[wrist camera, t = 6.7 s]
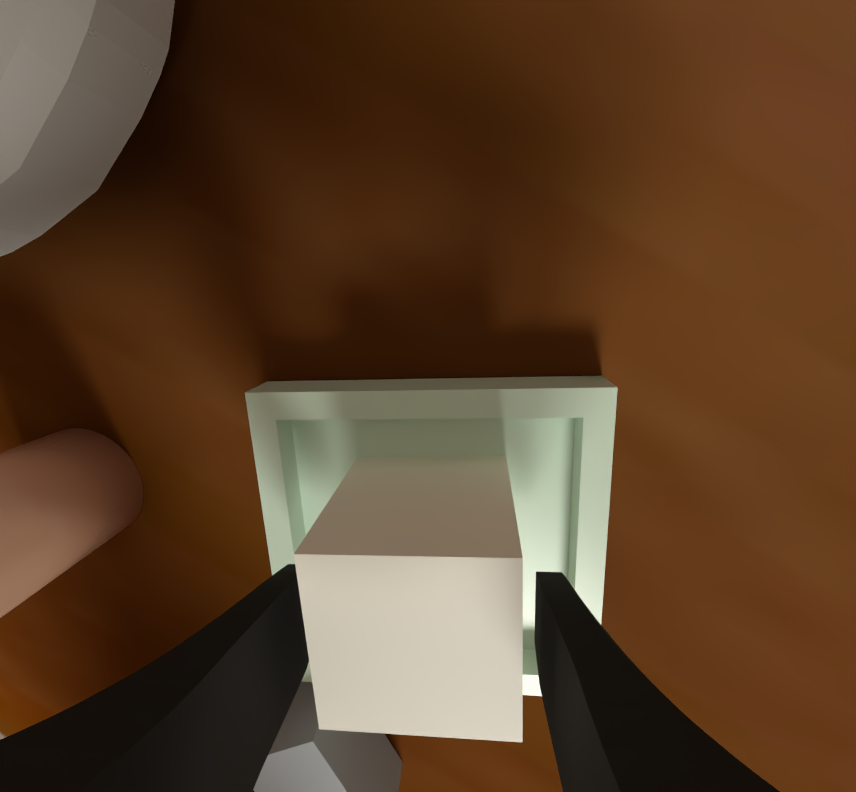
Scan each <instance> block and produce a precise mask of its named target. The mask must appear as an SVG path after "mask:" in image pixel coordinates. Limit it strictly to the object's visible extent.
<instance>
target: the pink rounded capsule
mask: <svg viewBox="0 0 856 792" xmlns="http://www.w3.org/2000/svg"><path fill="white" fill-rule="evenodd" d="M143 497H144V492H143V484H142V480H141V477H140V474H139V472H138V469H137V467H136V466H135V464H134V462H133V461H132V459H131V458H130V456H129V455H128V454H127V453H126V452H125V451H124V450H123V449H122V448H121V447H120V446H119V445H118V444H117V443H115V442H114V441H113V440H111V439H110V438H108V437H106V436H105V435H102V434H100V433H98V432H95V431H92V430H88V429H83V428H68V429H64V430H61V431H58V432H55V433H52V434H50V435H47V436H44V437H42V438H39V439H36V440H34V441H31V442H28V443H25V444H23V445H20V446H17V447H15V448H12V449H9V450H7V451H4V452H1V453H0V618H1V617H2V616H4V615H5V614H6V613H8V612H9V611H11V610H12V609H13V608H15V607H16V606H18V605H19V604H20V603H22V602H23V601H25V600H26V599H27V598H29V597H30V596H32V595H33V594H34V593H36V592H37V591H38V590H40V589H41V588H43V587H44V586H45V585H47V584H48V583H50V582H51V581H52V580H54V579H55V578H57V577H58V576H59V575H61V574H62V573H64V572H65V571H66V570H68V569H69V568H71V567H72V566H73V565H75V564H76V563H77V562H79V561H80V560H82V559H83V558H84V557H86V556H87V555H89V554H90V553H91V552H93V551H94V550H96V549H97V548H98V547H100V546H101V545H103V544H104V543H105V542H107V541H108V540H110V539H111V538H112V537H114V536H115V535H116V534H118V533H119V532H121V531H122V530H123V529H125V528H126V527H128V526H129V525H130V524H131V523H132V522H133V521H134V520H135V519H136V518H137V516H138V515H139V513H140V510H141V508H142V504H143Z"/></svg>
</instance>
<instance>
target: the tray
mask: <svg viewBox="0 0 856 792" xmlns="http://www.w3.org/2000/svg"><path fill="white" fill-rule="evenodd" d="M245 397H246V404H247V411H248V417H249V424H250V431H251V437H252V444H253V451H254V457H255V464H256V471H257V477H258V484H259V491H260V497H261V504H262V511H263V518H264V524H265V531H266V538H267V544H268V551H269V558H270V564H271V571H272V575H274V574H275V573H276V572H278V571H279V570H280V569H282V568H283V567H285V566H286V565H287V564H295V560H294V553H295V551H296V550H297V548H298V547H299V545H300V544H301V542H302V541H303V539H304V538H305V536H306V535H307V533H308V532H309V530H310V529H311V527H312V526H313V524H314V522H315V521H316V519H317V518H318V516H319V515H320V513H321V512H322V510H323V509H324V507H325V506H326V504H327V503H328V501H329V500H330V498H331V497H332V495H333V494H334V492H335V491H336V489H337V488H338V486H339V484H340V483H341V481H342V480H343V478H344V477H345V475H346V474H347V472H348V471H349V469H350V468H351V466H352V465H353V463H354V462H355V460H356V459H357V457H420V456H506V459H507V465H508V471H509V477H510V483H511V489H512V495H513V502H514V508H515V514H516V520H517V526H518V532H519V538H520V544H521V550H522V556H523V695H533V696H542V694H541V689H540V684H539V676H538V668H537V660H536V651H535V642H534V633H535V591H536V572H562V573H563V574H564V575H565V576H566V578H567V579H568V581H569V582H570V584H571V585H572V587H573V588H574V590H575V591H576V592H577V594H578V595H579V597H580V598H581V599H582V601H583V602H584V603H585V605H586V606H587V607H588V609H589V610H590V612H591V613H592V614H593V615H594V617H595V618H596V619H597V621H598V622H599V623H600V624H601V619H602V604H603V590H604V575H605V561H606V546H607V532H608V517H609V503H610V488H611V474H612V459H613V445H614V430H615V416H616V401H617V387H616V386H615V385H614V384H612V383H611V382H610V381H609V380H607V379H606V378H605V377H604V376H554V377H496V378H438V379H380V380H321V381H267V382H265V383H263V384H261V385H259V386H257V387H255V388H253V389H251V390H249V391H247V392H245ZM301 682H312V677H311V670H310V663H308V666H307V669H306V672H305V674H304V676H303V679H302V681H301Z"/></svg>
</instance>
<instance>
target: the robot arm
mask: <svg viewBox="0 0 856 792" xmlns="http://www.w3.org/2000/svg"><path fill="white" fill-rule="evenodd" d="M534 642H535V651H536V660H537V668H538V676H539V684H540V689H541V694H542V698H543V703H544V707H545V712H546V717H547V721H548V726H549V730H550V735H551V739H552V743H553V748H554V752H555V757H556V761H557V766H558V770H559V775H560V779H561V784H562V788H563V792H780V791H778V790H777V789H776V788H774V787H773V786H771V785H770V784H769V783H767V782H766V781H765V780H763V779H762V778H761V777H759V776H758V775H757V774H755V773H754V772H753V771H752V770H750V769H749V768H748V767H747V766H745V765H744V764H743V763H741V762H740V761H739V760H738V759H736V758H735V757H734V756H733V755H732V754H730V753H729V752H728V751H727V750H726V749H724V748H723V747H722V746H721V745H720V744H718V743H717V742H716V741H715V740H714V739H712V738H711V737H710V736H709V735H708V734H706V733H705V732H704V731H703V730H702V729H700V728H699V727H698V726H697V725H696V724H695V723H694V722H692V721H691V720H690V719H689V718H688V717H687V716H686V715H685V714H684V713H682V712H681V711H680V710H679V709H678V708H677V707H676V706H675V705H674V704H673V703H672V702H671V701H670V700H669V699H668V698H667V697H666V696H665V695H664V694H663V693H662V692H661V691H660V690H659V689H658V688H657V687H656V686H655V685H654V684H653V683H652V682H651V681H650V680H649V679H648V678H647V677H646V676H645V675H644V674H643V673H642V672H641V671H640V670H639V669H638V667H637V666H636V665H635V664H634V663H633V662H632V661H631V660H630V659H629V658H628V656H627V655H626V654H625V653H624V652H623V651H622V650H621V648H620V647H619V646H618V645H617V644H616V643H615V641H614V640H613V639H612V638H611V637H610V635H609V634H608V633H607V632H606V630H605V629H604V628H603V627H602V626H601V624H600V623H599V622H598V621H597V619H596V618H595V617H594V615H593V614H592V613H591V612H590V610H589V609H588V607H587V606H586V605H585V603H584V602H583V601H582V599H581V598H580V597H579V595H578V594H577V592H576V591H575V590H574V588H573V587H572V585H571V584H570V582H569V581H568V579H567V578H566V576H565V575H564V574H563V573H562V572H536V591H535V633H534ZM308 663H309V656H308V649H307V642H306V636H305V629H304V622H303V615H302V608H301V601H300V594H299V587H298V581H297V574H296V567H295V564H287V565H286V566H285V567H283V568H282V569H280V570H279V571H278V572H276V573H275V574H274V575H272V576H271V577H270V578H269V579H267V580H266V581H265V582H264V583H262V584H261V585H260V586H258V587H257V588H256V589H255V590H253V591H252V592H251V593H250V594H248V595H247V596H246V597H244V598H243V599H242V600H240V601H239V602H238V603H237V604H235V605H234V606H233V607H231V608H230V609H229V610H227V611H226V612H225V613H224V614H222V615H221V616H219V617H218V618H217V619H215V620H214V621H212V622H211V623H210V624H208V625H207V626H205V627H204V628H203V629H201V630H200V631H198V632H197V633H196V634H194V635H193V636H191V637H190V638H189V639H187V640H186V641H184V642H183V643H181V644H180V645H178V646H177V647H175V648H174V649H172V650H171V651H169V652H168V653H166V654H165V655H163V656H161V657H160V658H158V659H157V660H155V661H153V662H152V663H150V664H148V665H147V666H145V667H143V668H142V669H140V670H138V671H137V672H135V673H133V674H132V675H130V676H128V677H126V678H125V679H123V680H121V681H119V682H117V683H115V684H114V685H112V686H110V687H108V688H106V689H104V690H102V691H101V692H99V693H97V694H95V695H93V696H91V697H89V698H88V699H86V700H84V701H82V702H80V703H78V704H76V705H74V706H72V707H70V708H68V709H66V710H64V711H62V712H60V713H58V714H56V715H54V716H52V717H50V718H48V719H46V720H43V721H41V722H39V723H37V724H35V725H33V726H30V727H28V728H26V729H24V730H22V731H19V732H17V733H15V734H13V735H10V736H8V737H6V738H4V739H1V740H0V792H253V789H254V787H255V784H256V782H257V779H258V777H259V775H260V772H261V770H262V767H263V765H264V763H265V761H266V759H267V756H268V754H269V752H270V750H271V748H272V745H273V743H274V741H275V739H276V737H277V734H278V732H279V730H280V728H281V725H282V723H283V721H284V719H285V717H286V714H287V712H288V710H289V708H290V706H291V703H292V701H293V699H294V697H295V695H296V692H297V690H298V688H299V686H300V683H301V681H302V679H303V676H304V674H305V672H306V669H307V666H308Z"/></svg>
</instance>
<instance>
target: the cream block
mask: <svg viewBox="0 0 856 792" xmlns="http://www.w3.org/2000/svg"><path fill="white" fill-rule="evenodd" d="M294 560H295V567H296V574H297V581H298V587H299V594H300V601H301V608H302V615H303V622H304V629H305V636H306V642H307V649H308V656H309V663H310V670H311V677H312V684H313V691H314V697H315V704H316V711H317V718H318V725H319V729H322V730H338V731H354V732H369V733H385V734H401V735H416V736H432V737H448V738H463V739H479V740H495V741H510V742H522V696H523V556H522V550H521V544H520V538H519V532H518V526H517V520H516V514H515V508H514V502H513V495H512V489H511V483H510V477H509V471H508V465H507V459H506V456H420V457H357V459H356V460H355V462H354V463H353V465H352V466H351V468H350V469H349V471H348V472H347V474H346V475H345V477H344V478H343V480H342V481H341V483H340V484H339V486H338V488H337V489H336V491H335V492H334V494H333V495H332V497H331V498H330V500H329V501H328V503H327V504H326V506H325V507H324V509H323V510H322V512H321V513H320V515H319V516H318V518H317V519H316V521H315V522H314V524H313V526H312V527H311V529H310V530H309V532H308V533H307V535H306V536H305V538H304V539H303V541H302V542H301V544H300V545H299V547H298V548H297V550H296V551H295V553H294Z"/></svg>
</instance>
